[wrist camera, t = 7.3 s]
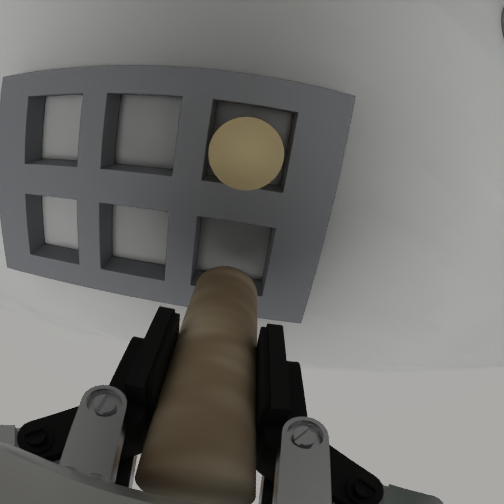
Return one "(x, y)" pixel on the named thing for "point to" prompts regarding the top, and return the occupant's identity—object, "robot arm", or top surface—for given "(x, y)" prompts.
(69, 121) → the top surface
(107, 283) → the peg board
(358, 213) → the top surface
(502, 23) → the canned tomato
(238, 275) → the beech pin
